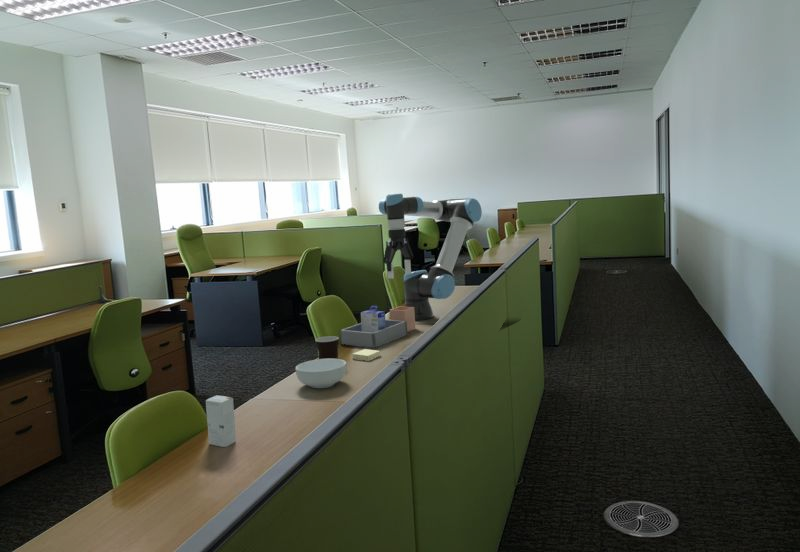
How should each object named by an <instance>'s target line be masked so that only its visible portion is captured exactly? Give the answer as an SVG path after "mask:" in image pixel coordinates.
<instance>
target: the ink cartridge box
mask: <svg viewBox="0 0 800 552" xmlns="http://www.w3.org/2000/svg"><path fill="white" fill-rule="evenodd" d="M378 308H379V307H378V305H371V306H370V308H369V310H364V311H361V312H360V323H361V327H362V332H370V333H374V332H377V331H379V330H382V329H385V328H386V322H385V320H386V311H382V310H381V311H380V310H378Z"/></svg>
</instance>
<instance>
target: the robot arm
mask: <svg viewBox="0 0 800 552" xmlns="http://www.w3.org/2000/svg"><path fill="white" fill-rule="evenodd" d="M378 211H379V212H380V213H381V214H382V215H385V216H386V219H387V228H388V230H387V231H388V238H389V239H390V240H387V241H385V243H386V244H385V245H386V246H385V249H384V250H385V251H384V255H383V256H384V257H383V260H382V263H383V264H384V265H386V272H387V279H393V280H394V278H395V275H394V274H395V273H394V264H393V260H394V258H395V255H396V254H397V253H396V252H398V251H400V252H401V254H402V255H403V257H404V260H403V261H404V274H403V291H404V300H405V301H404V302H405V303H404V306H403V307H414V312H415V321H422V320H428V319H432V318H434V311H433V309H432V306H431V303H430V300H429V299H436V300H441V299H442V300H444V299H445V300H446V299H449V298H450V296H452V295H453V293H454V291H455V288H456V284H455V283H456V282H455V281H456V280H455V278H454V276H455V274H454V273H453V270H454V267H455V264H456V262H457V259H458V256H459V255H460V252H461V249H462V246H463V243H464V241H465V238H466V235H467V232H468V230H470V229H472V228H473V226H474V223H477V222H479V221H480V220H481V218H482V213H483V212H482V206H481V203H480V202H479V201H478V200H477V199H475V198H471V197H467V198H450V199H443V200H433V201H425V200H424V201H423V199H422V198H421V197H419V196H409V197H408V196H407V197H404V196H403V193H391V194H387V195H386V196H385V198H383V199H381V200H380V201H379V203H378ZM405 216H408V217H409V216H410V217H425V218H430V219H432V220H436V221H437V220H438V221H443V222H450V227H449V229H448V231H447V235H446V237H445V239H444V242H443V245H442V247H441V250H440V252H439V255H438V258H437V260H436V263H435V265H434V266H431V267H430V270H429V272H428V271H427V270H426V269H421V270H416V271H415V270H414V271H412V267H411V266H412V263H411V262H412V261H411V260H413V258H414V254H413V251H412V249H411V246H410V243H409V242H410V241H409V238H408V237H406V228H405V227H406V223H405Z"/></svg>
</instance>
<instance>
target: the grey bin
mask: <svg viewBox="0 0 800 552" xmlns="http://www.w3.org/2000/svg"><path fill="white" fill-rule="evenodd" d="M385 322H386V328H385V329H382V330H379V331H377V332H374V333H370V332H362V327H361V322H360V323H357V324H354V325H352V326H349V327H345V328H342V329H340V330H339V341H340V345H344V344H345V345H344V346H346V345H347V346H353V347H354V346H355V347H362V346H364V348H371V347H373V349H376V348H378V347H380V345H381V346H383V345H385V343H386V344H388V343H390V341H391V342H392V340H393V341H395V339H396V340H398V339H401V338H402V337H405V336H408V332H407V321H396V320H390V319H385ZM387 342H388V343H387ZM382 344H383V345H382ZM377 346H378V347H377ZM375 347H376V348H375Z"/></svg>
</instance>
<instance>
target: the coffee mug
mask: <svg viewBox="0 0 800 552" xmlns="http://www.w3.org/2000/svg"><path fill="white" fill-rule="evenodd" d="M314 341H315V345H316V346H315V347H316V350H317V355H318V359H327V358H333V359H339V341H340V337H338V336H334V335H332V336H328V335H327V336H321V337H318V338H316V339H315V340H314Z"/></svg>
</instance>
